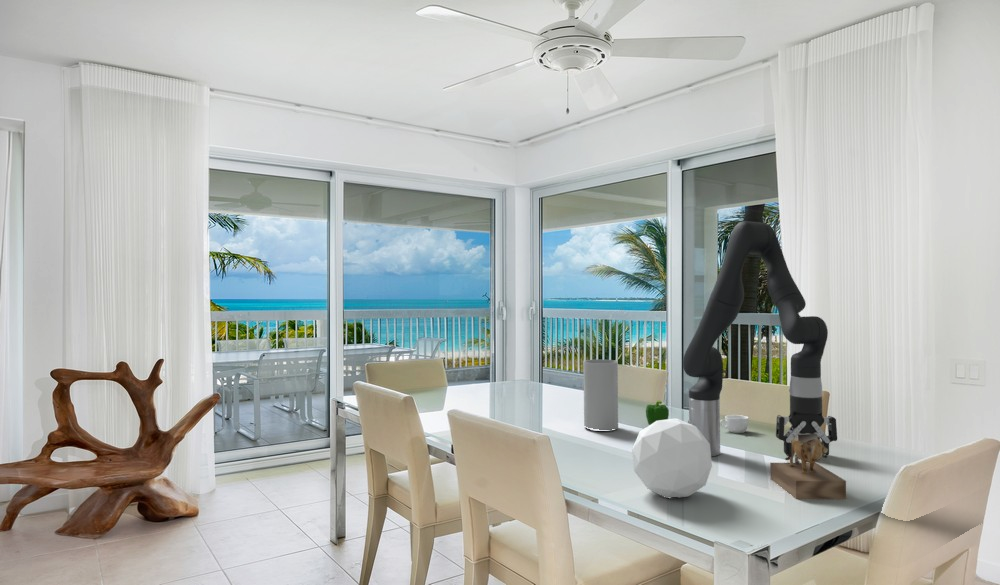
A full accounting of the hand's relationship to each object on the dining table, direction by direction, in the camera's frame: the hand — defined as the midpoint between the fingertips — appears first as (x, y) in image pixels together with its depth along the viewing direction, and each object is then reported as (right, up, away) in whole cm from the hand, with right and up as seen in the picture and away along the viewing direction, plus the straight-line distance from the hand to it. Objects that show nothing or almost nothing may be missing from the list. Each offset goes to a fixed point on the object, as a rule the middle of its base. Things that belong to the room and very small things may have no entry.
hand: (806, 456), depth 160 cm
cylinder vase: (-41, -9, +71) cm, 82 cm away
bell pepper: (-20, -8, +73) cm, 76 cm away
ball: (-36, -9, -4) cm, 37 cm away
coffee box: (+15, -8, +31) cm, 36 cm away
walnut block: (0, -9, 0) cm, 9 cm away
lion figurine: (0, -4, +1) cm, 4 cm away
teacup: (+5, -8, +63) cm, 64 cm away
